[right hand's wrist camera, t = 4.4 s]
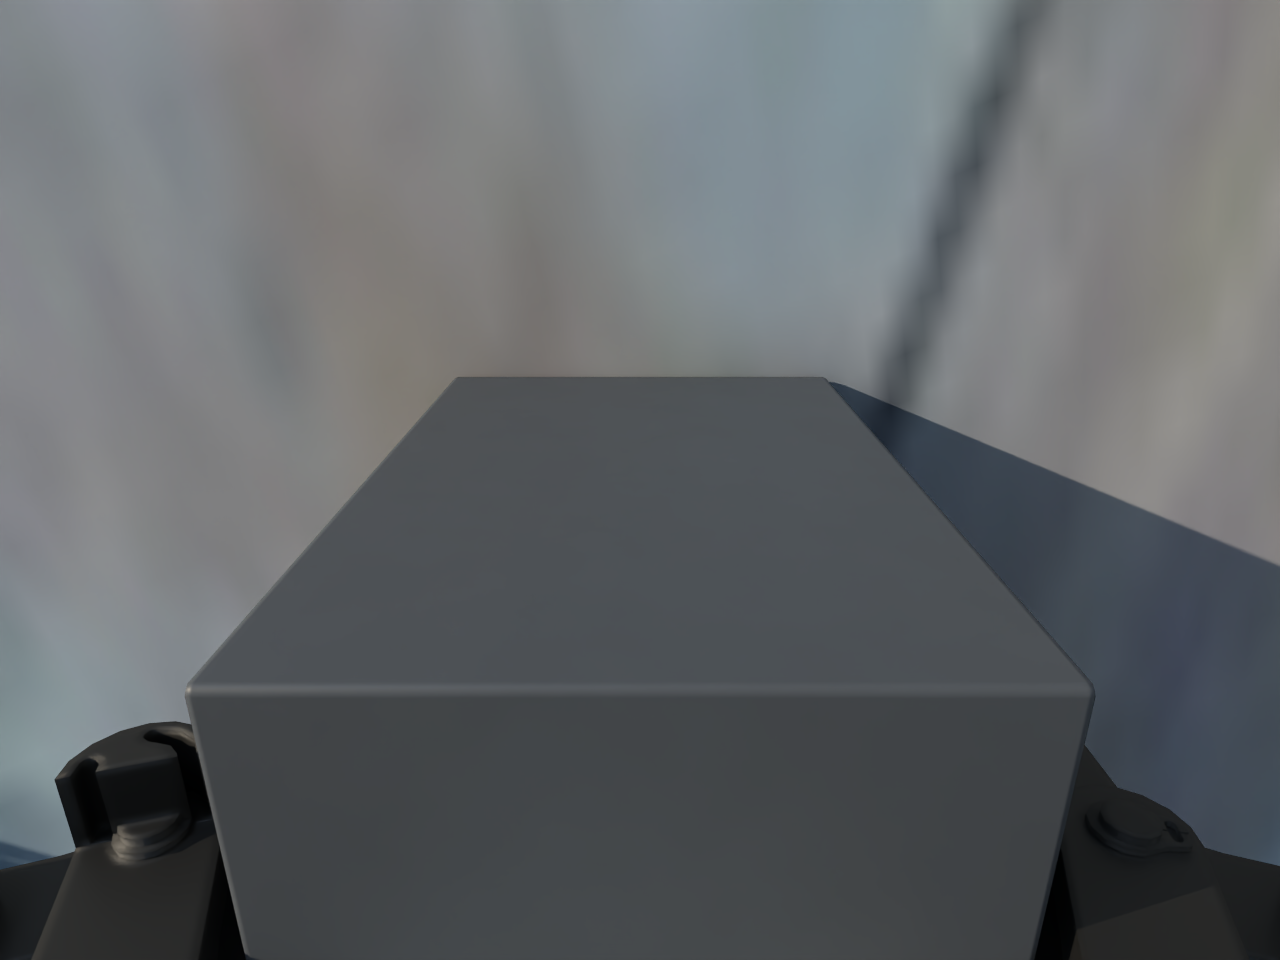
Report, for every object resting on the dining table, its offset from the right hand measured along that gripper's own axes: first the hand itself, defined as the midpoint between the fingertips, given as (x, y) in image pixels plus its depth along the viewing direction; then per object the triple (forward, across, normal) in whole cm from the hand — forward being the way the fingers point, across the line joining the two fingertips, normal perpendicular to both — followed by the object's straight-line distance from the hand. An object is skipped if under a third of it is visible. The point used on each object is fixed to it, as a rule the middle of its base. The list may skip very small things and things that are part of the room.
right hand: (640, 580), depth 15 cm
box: (+1, 0, -10) cm, 10 cm away
